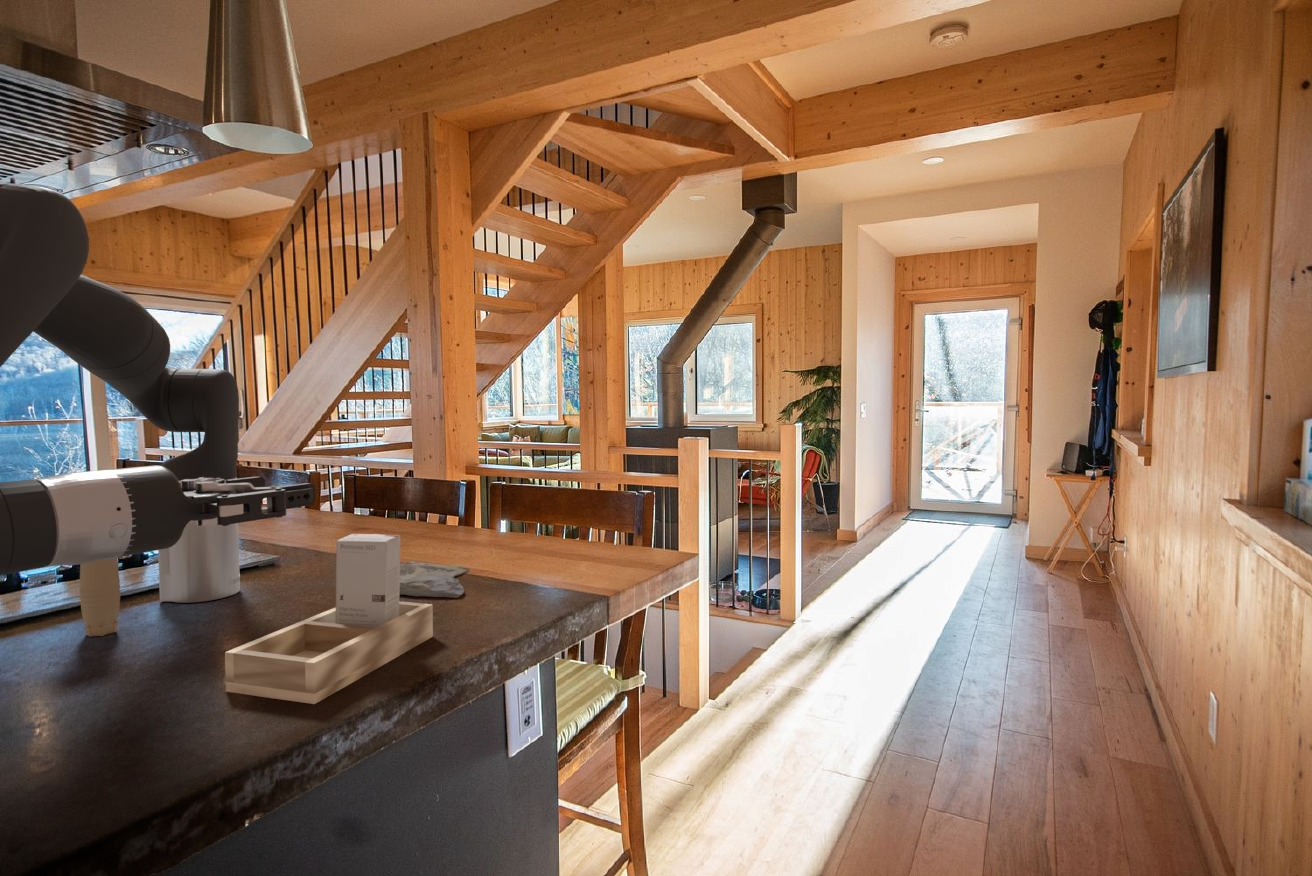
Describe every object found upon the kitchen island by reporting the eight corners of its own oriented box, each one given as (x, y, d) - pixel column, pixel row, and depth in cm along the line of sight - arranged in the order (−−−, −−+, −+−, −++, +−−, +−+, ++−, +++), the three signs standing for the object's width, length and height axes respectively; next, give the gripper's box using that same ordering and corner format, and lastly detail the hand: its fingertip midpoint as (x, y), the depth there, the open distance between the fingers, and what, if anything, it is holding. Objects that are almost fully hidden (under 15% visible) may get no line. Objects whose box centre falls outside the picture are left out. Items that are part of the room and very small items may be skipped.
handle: (63, 643, 83) (58, 517, 82) (94, 626, 90) (89, 509, 89) (110, 640, 84) (105, 516, 83) (137, 623, 91) (133, 508, 90)
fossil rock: (400, 572, 120) (400, 559, 120) (487, 573, 121) (487, 559, 121) (357, 601, 103) (357, 585, 103) (460, 602, 103) (460, 586, 103)
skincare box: (333, 645, 80) (331, 540, 80) (352, 632, 85) (350, 532, 84) (386, 646, 80) (385, 541, 79) (402, 633, 85) (401, 533, 84)
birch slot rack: (314, 704, 67) (313, 663, 67) (226, 691, 70) (224, 652, 70) (432, 636, 87) (432, 604, 86) (359, 628, 89) (359, 597, 89)
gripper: (146, 476, 56) (330, 458, 70) (64, 464, 63) (246, 450, 77) (151, 570, 56) (332, 533, 70) (69, 547, 63) (248, 518, 77)
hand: (287, 489), depth 73 cm, fingers open, 8 cm apart
